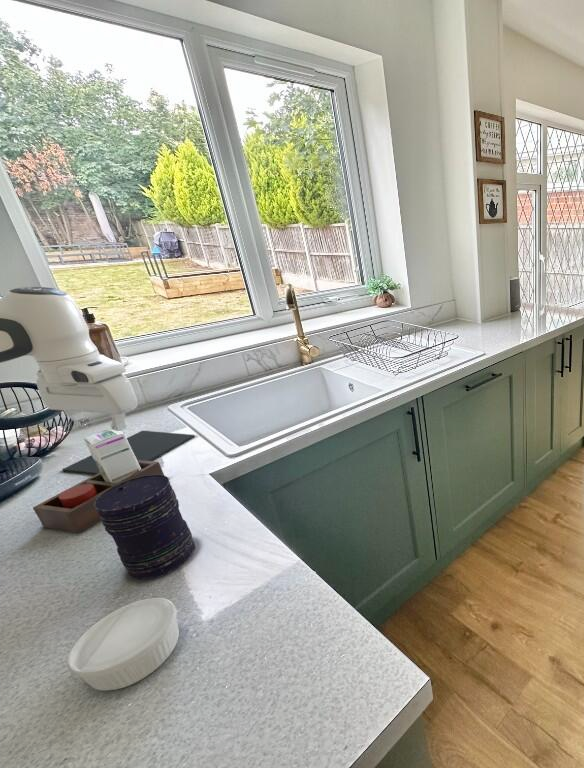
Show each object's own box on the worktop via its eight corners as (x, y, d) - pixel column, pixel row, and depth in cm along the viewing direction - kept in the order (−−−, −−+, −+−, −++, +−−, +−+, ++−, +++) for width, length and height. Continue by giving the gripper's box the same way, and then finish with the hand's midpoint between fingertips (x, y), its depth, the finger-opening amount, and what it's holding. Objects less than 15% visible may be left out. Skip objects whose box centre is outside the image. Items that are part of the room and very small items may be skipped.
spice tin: (64, 521, 85) (51, 497, 83) (92, 505, 90) (80, 482, 88) (84, 524, 84) (71, 500, 82) (111, 507, 89) (100, 484, 87)
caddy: (43, 527, 84) (32, 507, 82) (133, 476, 100) (125, 458, 98) (80, 532, 82) (69, 512, 80) (166, 479, 98) (158, 461, 97)
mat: (63, 471, 103) (62, 469, 103) (142, 432, 121) (142, 430, 121) (121, 477, 100) (120, 475, 99) (194, 436, 118) (194, 435, 118)
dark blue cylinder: (209, 544, 78) (183, 478, 73) (155, 586, 70) (121, 515, 64) (170, 535, 81) (142, 470, 75) (113, 574, 72) (77, 505, 66)
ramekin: (83, 657, 58) (67, 632, 56) (180, 608, 66) (168, 583, 64) (84, 721, 51) (65, 693, 49) (193, 657, 58) (180, 631, 56)
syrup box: (150, 486, 96) (126, 432, 90) (117, 501, 91) (90, 444, 86) (140, 479, 99) (116, 425, 93) (108, 492, 94) (81, 437, 89)
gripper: (15, 371, 83) (47, 432, 88) (96, 375, 79) (125, 438, 84) (52, 361, 88) (80, 418, 94) (130, 364, 85) (155, 424, 90)
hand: (102, 428), depth 89 cm, fingers open, 8 cm apart
